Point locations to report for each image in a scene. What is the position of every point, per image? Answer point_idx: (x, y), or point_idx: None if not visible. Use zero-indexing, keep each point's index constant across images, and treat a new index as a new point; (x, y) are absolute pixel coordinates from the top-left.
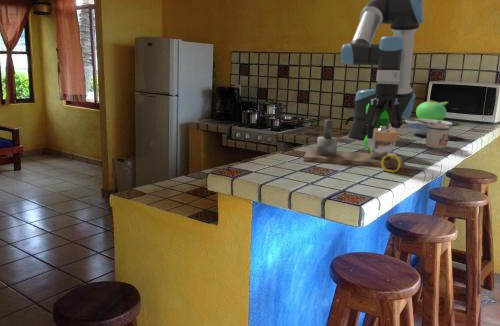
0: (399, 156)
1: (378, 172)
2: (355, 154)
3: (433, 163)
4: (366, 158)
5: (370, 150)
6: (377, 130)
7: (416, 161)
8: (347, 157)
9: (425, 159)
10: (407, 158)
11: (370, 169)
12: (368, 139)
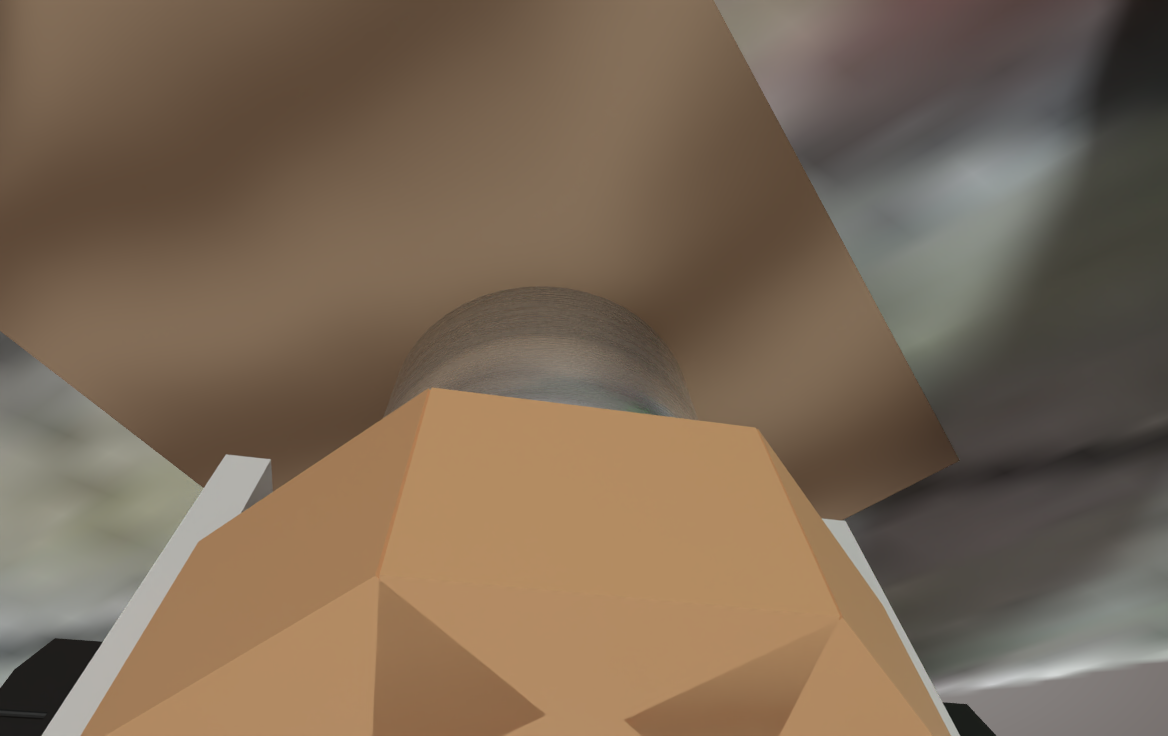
0: (879, 492)
1: (96, 627)
2: (416, 5)
3: (973, 675)
4: (324, 335)
5: (414, 384)
6: (590, 730)
7: (957, 568)
8: (36, 103)
9: (1150, 566)
10: (1077, 446)
11: (102, 531)
12: (150, 594)
